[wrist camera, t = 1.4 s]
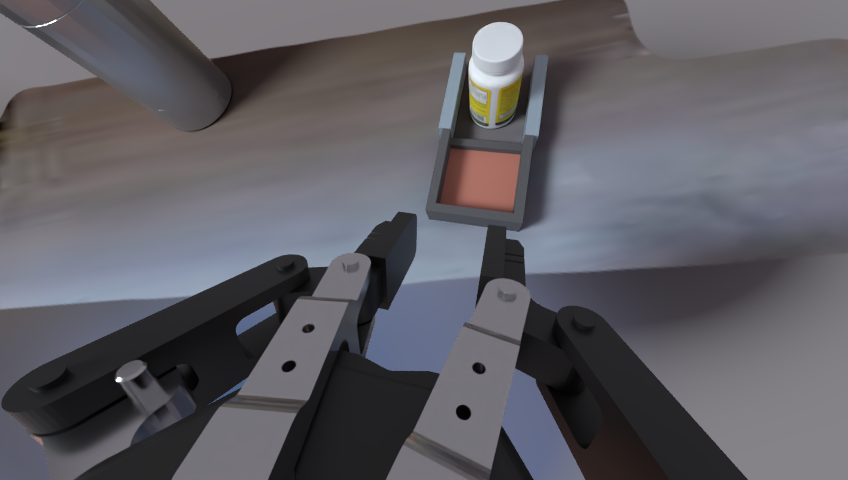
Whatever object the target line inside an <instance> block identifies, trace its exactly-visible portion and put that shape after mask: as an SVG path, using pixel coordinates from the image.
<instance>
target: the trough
mask: <svg viewBox="0 0 848 480" xmlns="http://www.w3.org/2000/svg"><path fill="white" fill-rule="evenodd" d="M548 56H549V55H536V57H535V61H534V65H533V70H532V74H531V81H530V88H529V95H528V103H527V110H526V117H525V124H524V131H523V139H522V144H523V140H524V137H525V135H534V139H533V147H532V150H534V147H535V144H536V142H537V139H538V136H539V128H540V120H541V112H542V104H543V96H544V88H545V80H546V72H547V64H548ZM465 76H466V53H454V56H453V61H452V66H451V71H450V75H449V80H448V85H447V90H446V94H445V99H444V104H443V109H442V113H441V118H440V123H439V133H440V138H441V133H442V128H448V129H451V136H452V138H453V137H454V132H455V127H456V122H457V117H458V111H459V106H460V101H461V96H462V91H463V86H464V81H465Z"/></svg>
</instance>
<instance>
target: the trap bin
mask: <svg viewBox="0 0 848 480" xmlns="http://www.w3.org/2000/svg"><path fill="white" fill-rule="evenodd" d="M533 139H534V135H525V137H524V140H523V144H521V143H510V142H498V141H486V140H474V139H462V138H452V136H451V129H448V128H442V133H441V138H440V143H439V147H438V152H437V157H436V162H435V167H434V172H433V176H432V181H431V186H430V191H429V196H428V201H427V205H426V212H427V215H428V217H429V219H433V220H440V221H447V222H455V223H462V224H469V225H476V226H483V227H488V224H491V225H498V226H505V227H506V230H511V231H519V230H520V228H521V226H522V224H523V217H524V209H525V201H526V193H527V186H528V178H529V170H530V162H531V155H532V147H533Z"/></svg>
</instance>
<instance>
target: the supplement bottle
mask: <svg viewBox="0 0 848 480" xmlns="http://www.w3.org/2000/svg"><path fill="white" fill-rule="evenodd" d="M522 48H523V35H522V33H521V31H520V30H519V29H518V28H517V27H516V26H514V25H513V24H510V23H506V22H496V23H491V24H489V25H487V26H485V27H483V28H482V29H481V30H479V31H478V33H477V34H476V35H475V37H474V40H473V50H472V57H471V59H470V62H469V71H468V72H469V99H470V114H471V117H472V119H473V121H474V122H475V123H476V124H477V125H479V126H481V127H483V128H487V129H494V128H499V127H502V126H504V125H506V124H508V123H509V122H510V121H511V120H512V118H513V117H514V115H515V112H516V108H517V102H518V97H519V91H520V86H521V80H522V75H523V70H524V58H523V55H522Z"/></svg>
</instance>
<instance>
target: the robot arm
mask: <svg viewBox="0 0 848 480" xmlns="http://www.w3.org/2000/svg"><path fill="white" fill-rule="evenodd" d="M0 13H1V14H2V15H4V16H5V17H7V18H9V19H10V20H11V21H13V22H14V23H16V24H18V25H19V26H21V27H22V28H24V29H25V30H27V31H28V32H30V33H32V34H33V35H35V36H36V37H38V38H39V39H41V40H42V41H44V42H45V43H47V44H48V45H50V46H51V47H53V48H55V49H56V50H58V51H59V52H61V53H62V54H64V55H65V56H67V57H68V58H70V59H71V60H73V61H74V62H76V63H77V64H79V65H81V66H82V67H84V68H85V69H87V70H88V71H90V72H91V73H93V74H94V75H96V76H97V77H99V78H100V79H102V80H104V81H105V82H107V83H108V84H110V85H111V86H113V87H114V88H116V89H117V90H119V91H120V92H122V93H123V94H125V95H126V96H128V97H130V98H131V99H133V100H134V101H136V102H137V103H139V104H140V105H142V106H143V107H145V108H146V109H148V110H149V111H151V112H152V113H154V114H155V115H157V116H158V117H160V118H162V119H163V120H165V121H166V122H168V123H169V124H171V125H172V126H174V127H175V128H177V129H180V130H183V131H195V130H199V129H202V128H204V127H206V126H208V125H210V124H211V123H213V122H214V121H215V120H216V119H218V118H219V117H220V116H221V114H222V113H223V112H224V111H225V109H226V107H227V106H228V104H229V101H230V98H231V92H232V89H231V84H230V81H229V79H228V78H227V77H226V75H225V74H224V73H223V72H222V71H221V70H220V69H219V68H218V67H217V66H216V65H215V64H214V63H213V62H212V61H211V60H210V59H209V58H207V57H206V55H204V54H203V53H202V51H201V50H200V49H199V48H198V47H197V46H196V45H195V44H194V43H193V42H192V41H191V40H189V39H188V37H187V36H186V35H185V34H183V33H182V32H181V31H180V30H179V29H178V28H177V27H176V26H175V25H174V24H173V23H172V22H171V21H170V20H169V19H168V18H167V17H166V16H165V15H164V14H163V13H162V12H161V11H160V10H159V9H158V8H157V7H156V6H155V5H154V4H153V3H152V2H151V1H150V0H0ZM416 239H417V216H416V214H412V213H405V212H398V213H397V214H396V216H395V217H394V218H393V220H392V221H391V222H389V221H385V222H383V223H381V224H379V225H377V226H376V227H375V228H374V229H373V231H372V232H371V233H370V234H369V235H368V237H367V239H365V240H364V241H363V243H362V244H361V245H360V246H359V247H358V249H357V250H356V251H355V252H354V253H348V254H343V255H341V256H338V257H337V258H335V259H334V260H333V261H332V262H331V264H330V265H329V267H312V268H308V264H307V260H306V259H305V258H304V257H303V256H300V255H293V254H292V255H283V256H280V257H277V258H274V259H272V260H270V261H268V262H266V263H264V264H261V265H259V266H257V267H255V268H253V269H250V270H248V271H246V272H244V273H242V274H240V275H237V276H235V277H233V278H231V279H229V280H227V281H224V282H222V283H220V284H218V285H216V286H213V287H211V288H209V289H207V290H205V291H203V292H200V293H198V294H196V295H194V296H192V297H190V298H187V299H185V300H183V301H181V302H179V303H176V304H175V305H172V306H170V307H168V308H166V309H163V310H161V311H159V312H157V313H155V314H152V315H150V316H148V317H146V318H144V319H142V320H140V321H137V322H135V323H133V324H131V325H129V326H127V327H124V328H122V329H120V330H118V331H116V332H113V333H111V334H109V335H107V336H105V337H102V338H100V339H98V340H96V341H94V342H92V343H90V344H87V345H85V346H83V347H81V348H78V349H76V350H74V351H72V352H70V353H68V354H65V355H63V356H61V357H59V358H57V359H55V360H53V361H50V362H48V363H46V364H44V365H42V366H40V367H38V368H36V369H35V370H33V371H31V372H30V373H28V374H26V375H25V376H24V377H22V378H21V379H20V380H18V381H17V382H16V383H15V384H14V385H13V386H12V387H11V388H10V389H9V390H8V391H7V393H6V394H5V395H4V397H3V399H2V408H3V409H4V410H5V411H6V412H8V413H9V414H10V415H11V416H13V417H14V418H15V419H16V420H17V421H18V422H20V423H21V424H22V425H23V426H24V427H26V429H27V432H28V433H29V435H31V436H32V437H33V438H34V439H36V440H37V441H38V442H39V443H40V444H42V445H43V446H44V451H45V456H46V460H47V464H48V469H49V474H50V478H51V480H533V478H532V476H531V475H530V473H529V471H528V469H527V468H526V466H525V464H524V463H523V461H522V459H521V458H520V456H519V454H518V452H517V451H516V449H515V447H514V445H513V444H512V442H511V440H510V439H509V437H508V435H507V434H506V432H505V430H504V429H503V427H502V421H503V417H504V412H505V408H506V404H507V400H508V395H509V391H510V387H511V382H512V378H513V374H514V369H515V368H516V369H518V370H520V371H522V372H524V373H526V374H527V375H529V376H531V377H533V378H535V379H536V384H537V386H538V388H539V390H540V392H541V394H542V396H543V398H544V400H545V402H546V404H547V406H548V408H549V410H550V412H551V413H552V415H553V417H554V419H555V421H556V423H557V425H558V427H559V429H560V431H561V433H562V435H563V437H564V439H565V441H566V443H567V445H568V447H569V449H570V451H571V453H572V454H573V456H574V458H575V460H576V462H577V464H578V466H579V468H580V470H581V472H582V474H583V476H584V478H585V480H747V478H746V477H745V476H744V475H743V474H742V473H741V472H740V470H739V469H738V468H737V467H736V466H735V465H734V464H733V463H732V461H731V460H730V459H729V458H728V457H727V456H726V455H725V454H724V453H723V451H722V450H721V449H720V448H719V447H718V446H717V445H716V444H715V442H714V441H713V440H712V439H711V438H710V437H709V436H708V435H707V434H706V432H705V431H704V430H703V429H702V428H701V427H700V426H699V425H698V423H697V422H695V420H694V419H693V418H692V417H691V416H690V414H689V413H688V412H687V411H686V410H685V409H684V408H683V407H682V406H681V404H680V403H679V402H678V401H677V400H676V399H675V398H674V397H673V395H672V394H671V393H670V392H669V391H668V390H667V389H666V388H665V387H664V385H663V384H662V383H661V382H660V381H659V380H658V379H657V378H656V377H655V375H654V374H653V373H652V372H651V371H650V370H649V369H648V368H647V367H646V365H645V364H644V363H643V362H642V361H641V360H640V359H639V358H638V356H637V355H636V354H635V353H634V352H633V351H632V350H631V349H630V348H629V346H628V345H627V344H626V343H625V342H624V341H623V340H622V339H621V338H620V336H619V335H618V334H617V333H616V332H615V331H614V330H613V328H611V326H610V325H609V324H608V323H607V322H606V321H605V320H604V319H603V318H602V317H601V316H599V315H598V314H597V313H595V312H593V311H591V310H589V309H587V308H583V307H579V306H566V307H563V308H561V309H560V310H559V311H558V313H556V312H554V311H551V310H549V309H546V308H544V307H542V306H540V305H539V304H537V303H536V302H534V301H533V300H532V299H531V296H530V293H529V291H528V289H527V288H526V284H525V264H524V248H523V246H522V245H521V244H520V242H519V241H518V240H511V239H506V227H505V226H498V225H491V224H488V230H487V236H486V243H485V249H484V255H483V262H482V268H481V274H480V281H479V287H478V294H477V301H476V307H475V311H474V313H473V315H472V318H471V320H470V322H469V323H466V322H465V323H464V325H463V326H462V328H461V331H460V333H459V335H458V337H457V339H456V341H455V344H454V345H453V348H452V350H451V352H450V354H449V356H448V358H447V360H446V363H445V365H444V367H443V369H442V371H441V373H440V374H438V373H434V372H430V371H390V370H387V369H385V368H383V367H381V366H379V365H377V364H376V363H374V362H372V361H370V360H368V359H366V358H365V357H366V353H367V350H368V346H369V343H370V339H371V335H372V332H373V328H374V325H375V314H376V312H377V309H378V308H381V309H386V310H388V309H389V307H390V305H391V303H392V301H393V299H394V297H395V295H396V293H397V291H398V289H399V287H400V285H401V283H402V281H403V279H404V277H405V275H406V273H407V271H408V269H409V267H410V265H411V263H412V261H413V259H414V257H415V253H416ZM271 302H273V303H274V306H275V309H276V313H275V314H273V315H272V316H270V317H268V318H267V319H265V320H263V321H262V322H260V323H258V324H257V325H255V326H253V327H252V328H250V329H248V330H246V331H245V332H243V333H241V334H240V335H238V336H237V334H236V326H237V324H238V323H239V322H240V321H241V320H242V319H243V318H244V317H246V316H248V315H250V314H251V313H253V312H255V311H257V310H259V309H260V308H262V307H264V306H266V305H267V304H269V303H271ZM247 377H248V379H247V380H246V382H245V383H244V385H243V387H242V388H240V389H238V390H236V391H234V392H232V393H230V394H228V395H226V396H225V397H223V398H221V399H219V400H217V401H216V402H213V401H214V400H215V399H217V398H218V397H220V396H221V395H223V394H224V393H226V392H227V391H229V390H230V389H231V388H233V387H234V386H236V385H237V384H239V383H240V382H241V381H243V380H244V379H246V378H247ZM211 402H213V403H211ZM210 403H211V404H210ZM208 404H209V405H208Z"/></svg>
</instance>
